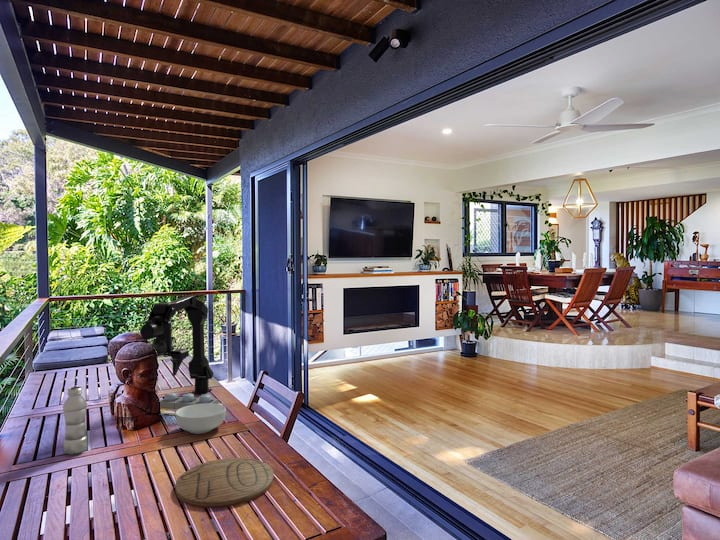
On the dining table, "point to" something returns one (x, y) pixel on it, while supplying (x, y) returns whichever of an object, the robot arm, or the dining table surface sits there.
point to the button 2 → (188, 398)
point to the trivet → (224, 482)
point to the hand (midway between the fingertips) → (164, 375)
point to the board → (178, 405)
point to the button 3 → (205, 398)
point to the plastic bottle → (75, 422)
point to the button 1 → (171, 397)
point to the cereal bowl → (200, 417)
